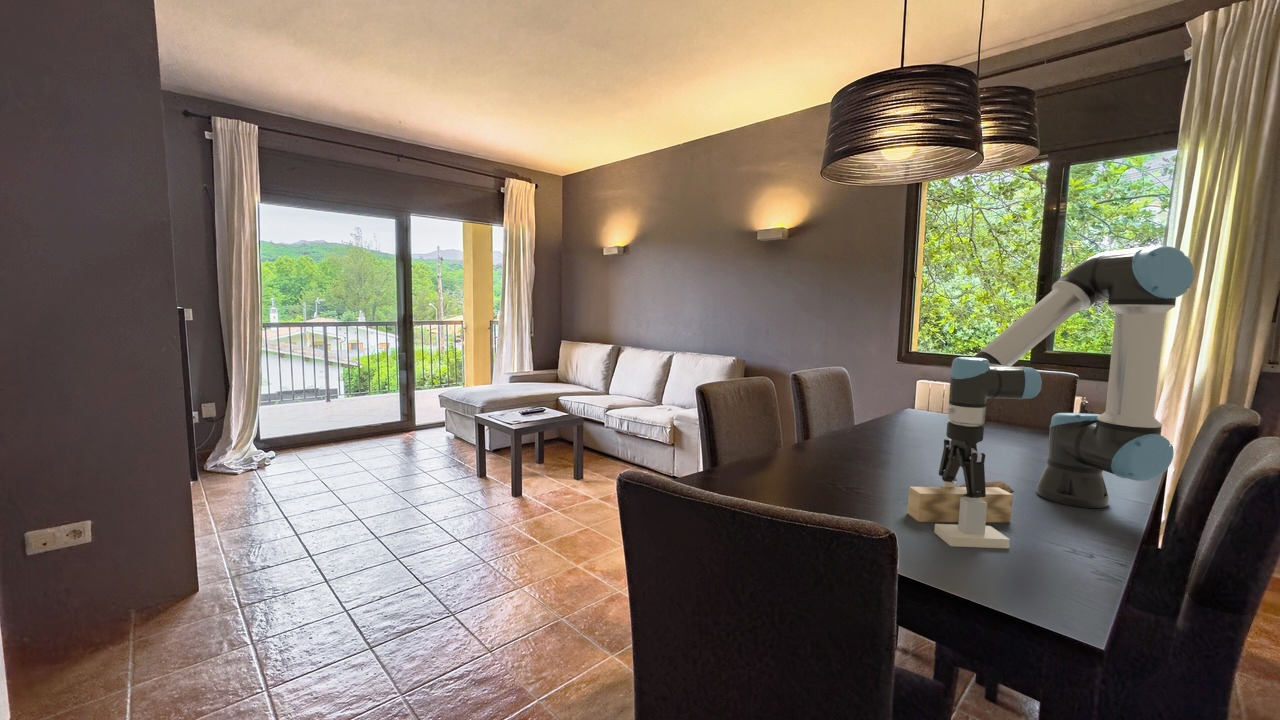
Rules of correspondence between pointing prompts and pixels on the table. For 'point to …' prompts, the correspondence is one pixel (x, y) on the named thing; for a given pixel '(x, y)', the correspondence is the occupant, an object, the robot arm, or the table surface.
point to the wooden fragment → (996, 485)
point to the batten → (955, 504)
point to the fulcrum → (972, 527)
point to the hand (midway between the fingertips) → (958, 514)
